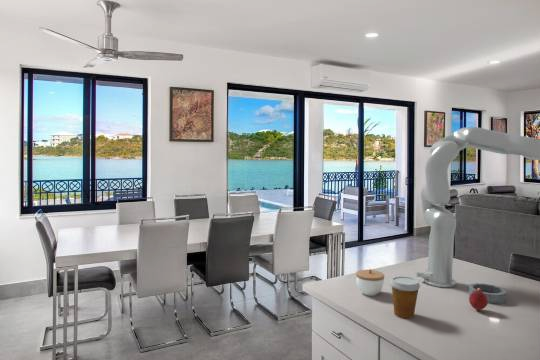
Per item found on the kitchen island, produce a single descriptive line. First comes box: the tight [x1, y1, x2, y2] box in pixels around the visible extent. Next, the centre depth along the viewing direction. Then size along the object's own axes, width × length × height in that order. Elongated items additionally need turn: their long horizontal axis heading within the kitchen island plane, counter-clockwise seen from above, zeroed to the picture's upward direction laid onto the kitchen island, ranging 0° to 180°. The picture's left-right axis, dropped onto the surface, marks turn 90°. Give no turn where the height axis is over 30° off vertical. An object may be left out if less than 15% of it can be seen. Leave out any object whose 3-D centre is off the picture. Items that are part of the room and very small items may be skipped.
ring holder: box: [468, 282, 507, 305], centre depth 151 cm, size 12×12×4 cm
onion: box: [468, 288, 489, 311], centre depth 138 cm, size 6×6×8 cm
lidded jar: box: [355, 268, 385, 297], centre depth 155 cm, size 11×11×9 cm
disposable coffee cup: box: [389, 275, 421, 319], centre depth 134 cm, size 10×10×12 cm
